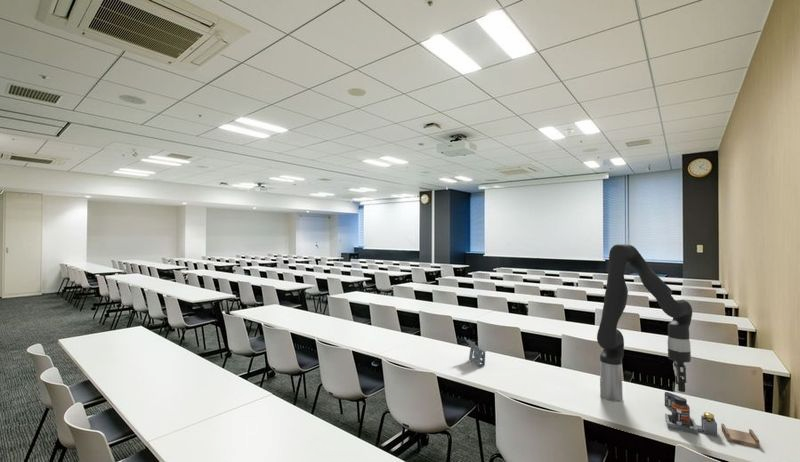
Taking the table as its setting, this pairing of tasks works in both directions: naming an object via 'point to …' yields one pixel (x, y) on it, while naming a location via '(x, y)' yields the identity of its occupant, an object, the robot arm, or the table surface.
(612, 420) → the table surface
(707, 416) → the brass knob
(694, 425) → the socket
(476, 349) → the bracket
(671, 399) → the mini dv tape
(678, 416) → the supplement bottle
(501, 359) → the table surface
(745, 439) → the brown curved tray
